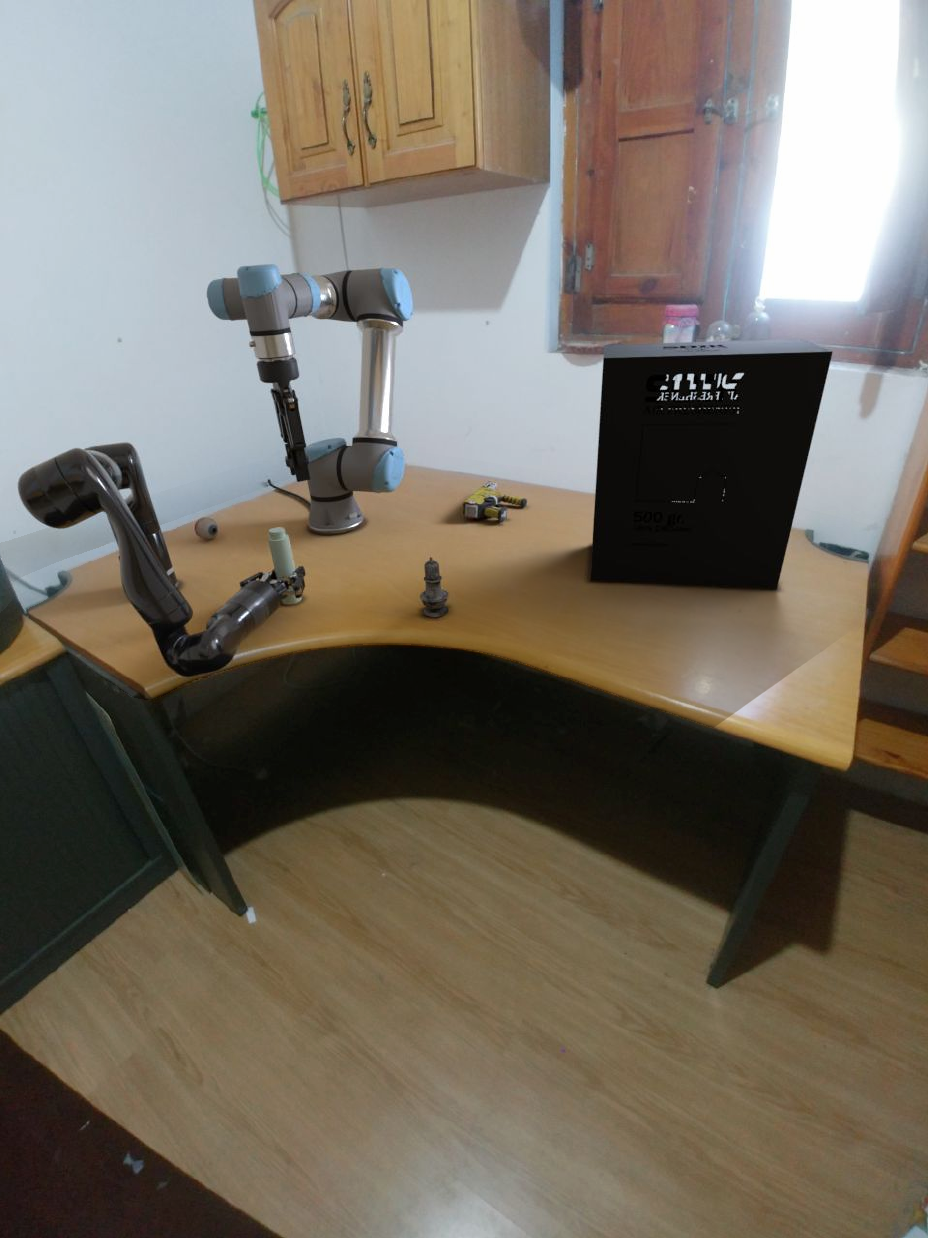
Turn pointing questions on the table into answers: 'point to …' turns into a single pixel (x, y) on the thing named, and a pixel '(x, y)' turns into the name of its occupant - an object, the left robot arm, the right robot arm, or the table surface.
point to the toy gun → (489, 503)
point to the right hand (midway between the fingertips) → (300, 476)
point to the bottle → (282, 558)
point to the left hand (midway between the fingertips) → (292, 569)
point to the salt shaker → (433, 591)
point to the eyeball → (206, 528)
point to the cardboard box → (703, 460)
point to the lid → (290, 463)
